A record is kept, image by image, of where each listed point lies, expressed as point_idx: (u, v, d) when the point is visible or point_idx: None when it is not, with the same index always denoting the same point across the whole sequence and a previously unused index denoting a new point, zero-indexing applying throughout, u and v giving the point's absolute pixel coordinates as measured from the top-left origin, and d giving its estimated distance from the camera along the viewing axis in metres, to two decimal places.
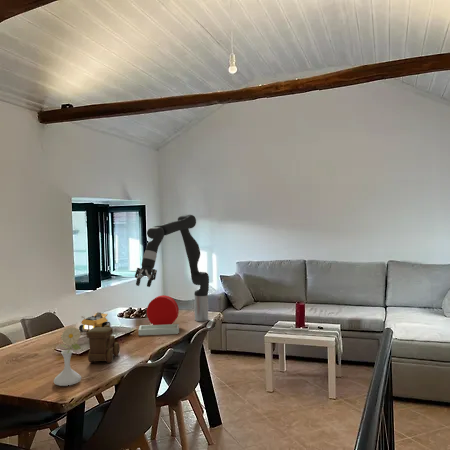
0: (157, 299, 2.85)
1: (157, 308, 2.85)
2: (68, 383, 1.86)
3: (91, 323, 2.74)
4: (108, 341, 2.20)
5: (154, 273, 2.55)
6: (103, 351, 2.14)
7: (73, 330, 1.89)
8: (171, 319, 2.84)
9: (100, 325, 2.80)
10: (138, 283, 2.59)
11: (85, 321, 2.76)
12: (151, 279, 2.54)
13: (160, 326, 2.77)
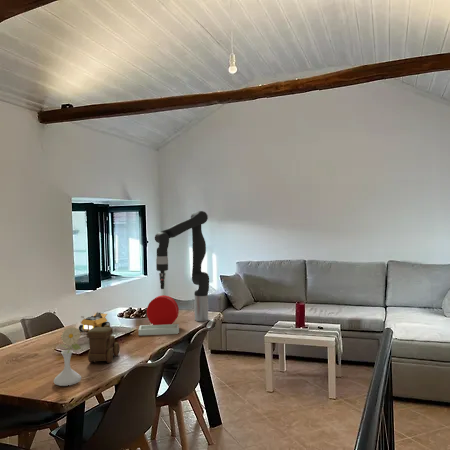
0: (157, 299, 2.85)
1: (157, 308, 2.85)
2: (68, 383, 1.86)
3: (91, 323, 2.74)
4: (108, 341, 2.20)
5: (161, 277, 2.80)
6: (103, 351, 2.14)
7: (73, 330, 1.89)
8: (171, 319, 2.84)
9: (100, 325, 2.80)
10: None
11: (85, 321, 2.76)
12: (161, 282, 2.81)
13: (160, 326, 2.77)
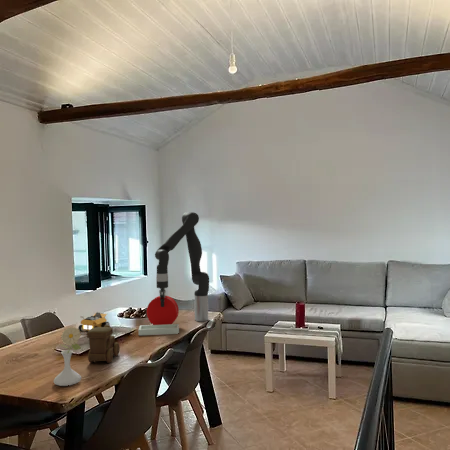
0: (157, 299, 2.84)
1: (157, 308, 2.85)
2: (68, 383, 1.86)
3: (90, 323, 2.74)
4: (108, 341, 2.20)
5: (161, 295, 2.80)
6: (103, 351, 2.14)
7: (73, 330, 1.89)
8: (170, 319, 2.84)
9: (99, 325, 2.80)
10: None
11: (84, 321, 2.76)
12: (161, 300, 2.82)
13: (160, 326, 2.77)
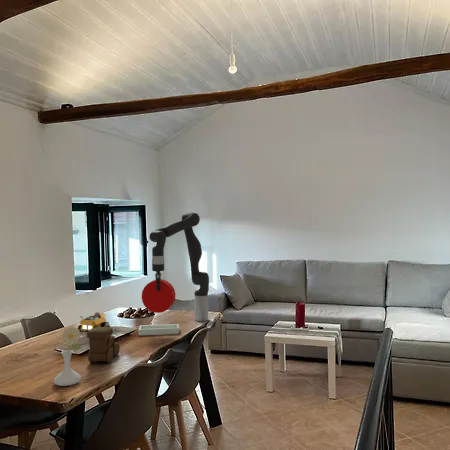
0: (153, 283, 2.70)
1: (153, 292, 2.70)
2: (68, 383, 1.86)
3: (90, 323, 2.74)
4: (108, 341, 2.20)
5: (157, 278, 2.66)
6: (103, 351, 2.14)
7: (73, 330, 1.89)
8: (167, 304, 2.70)
9: (99, 325, 2.80)
10: None
11: (84, 321, 2.76)
12: (157, 284, 2.68)
13: (160, 326, 2.77)
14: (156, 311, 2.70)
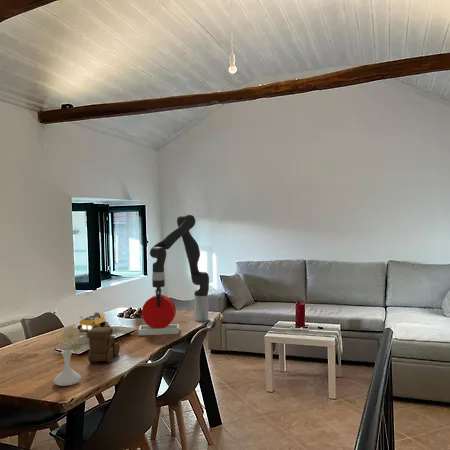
0: (153, 299, 2.70)
1: (153, 308, 2.70)
2: (68, 383, 1.86)
3: (89, 323, 2.74)
4: (108, 341, 2.20)
5: (157, 295, 2.66)
6: (103, 351, 2.14)
7: (73, 330, 1.89)
8: (167, 320, 2.70)
9: (98, 325, 2.80)
10: None
11: (83, 321, 2.76)
12: (157, 300, 2.68)
13: None
14: (156, 327, 2.71)
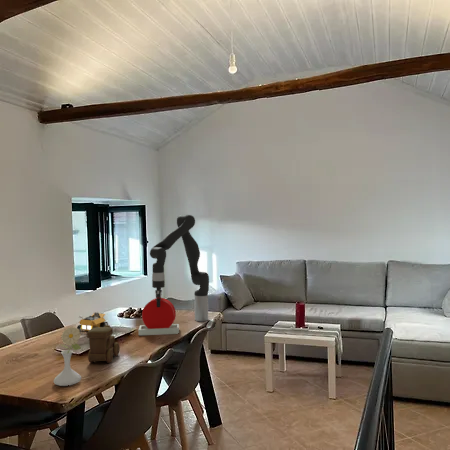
0: (153, 302, 2.70)
1: (153, 311, 2.70)
2: (68, 383, 1.86)
3: (89, 323, 2.74)
4: (108, 341, 2.20)
5: (157, 294, 2.66)
6: (103, 351, 2.14)
7: (73, 330, 1.89)
8: (167, 323, 2.70)
9: (98, 325, 2.80)
10: None
11: (83, 321, 2.76)
12: (157, 300, 2.67)
13: None
14: None
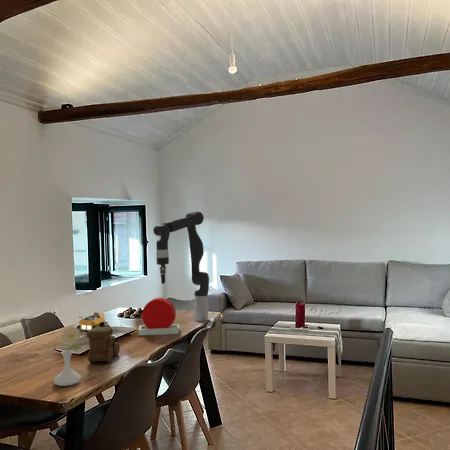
0: (153, 302, 2.70)
1: (153, 311, 2.70)
2: (68, 383, 1.86)
3: (89, 323, 2.74)
4: (108, 341, 2.20)
5: (162, 271, 2.69)
6: (103, 351, 2.14)
7: (73, 330, 1.89)
8: (167, 323, 2.70)
9: (98, 325, 2.80)
10: None
11: (83, 321, 2.76)
12: (162, 277, 2.70)
13: None
14: None
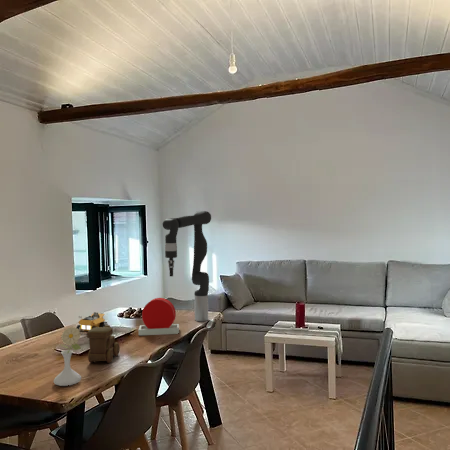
0: (153, 302, 2.70)
1: (153, 311, 2.70)
2: (68, 383, 1.86)
3: (88, 323, 2.74)
4: (108, 341, 2.20)
5: (170, 264, 2.74)
6: (103, 351, 2.14)
7: (73, 330, 1.89)
8: (167, 323, 2.70)
9: (97, 325, 2.80)
10: None
11: (82, 321, 2.76)
12: (170, 270, 2.75)
13: None
14: None
